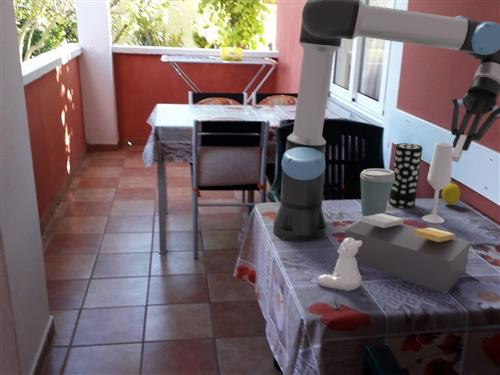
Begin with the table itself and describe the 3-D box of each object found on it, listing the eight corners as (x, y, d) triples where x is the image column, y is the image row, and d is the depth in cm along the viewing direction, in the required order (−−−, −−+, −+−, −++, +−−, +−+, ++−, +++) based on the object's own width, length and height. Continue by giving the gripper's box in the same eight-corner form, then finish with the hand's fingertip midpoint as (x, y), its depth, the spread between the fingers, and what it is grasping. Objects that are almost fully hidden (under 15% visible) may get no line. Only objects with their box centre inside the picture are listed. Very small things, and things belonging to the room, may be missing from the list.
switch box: (368, 241, 137) (371, 214, 134) (465, 271, 121) (470, 241, 118) (342, 258, 126) (345, 229, 124) (445, 293, 111) (450, 261, 108)
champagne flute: (449, 221, 152) (461, 145, 145) (432, 224, 150) (443, 147, 142) (433, 214, 158) (444, 140, 151) (417, 216, 156) (427, 142, 148)
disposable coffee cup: (350, 217, 154) (355, 171, 149) (362, 207, 162) (367, 163, 158) (384, 225, 148) (390, 177, 144) (394, 214, 157) (400, 169, 152)
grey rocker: (381, 218, 131) (382, 213, 131) (402, 223, 127) (404, 218, 127) (361, 221, 122) (362, 216, 121) (384, 227, 118) (385, 222, 118)
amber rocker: (429, 232, 123) (430, 227, 123) (454, 239, 120) (455, 233, 119) (412, 234, 114) (414, 229, 114) (438, 242, 110) (440, 236, 110)
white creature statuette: (340, 271, 120) (345, 225, 116) (371, 285, 114) (376, 237, 110) (315, 284, 114) (318, 236, 110) (346, 299, 108) (350, 248, 104)
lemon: (437, 202, 169) (440, 180, 167) (453, 202, 170) (456, 179, 167) (445, 208, 164) (448, 185, 162) (461, 207, 165) (464, 184, 162)
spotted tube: (414, 201, 169) (422, 144, 163) (414, 209, 162) (422, 150, 155) (389, 198, 172) (396, 142, 165) (388, 206, 164) (394, 147, 158)
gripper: (512, 96, 132) (481, 172, 126) (462, 88, 139) (431, 159, 133) (513, 79, 126) (481, 158, 120) (461, 71, 132) (428, 145, 127)
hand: (454, 159), depth 127 cm, fingers closed
